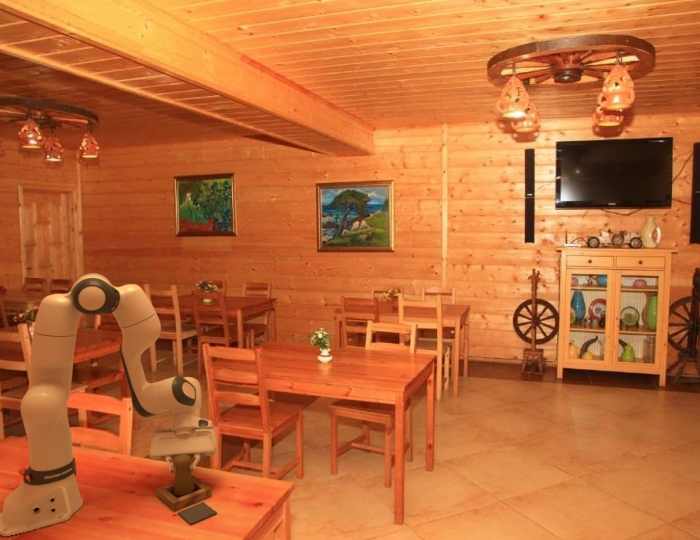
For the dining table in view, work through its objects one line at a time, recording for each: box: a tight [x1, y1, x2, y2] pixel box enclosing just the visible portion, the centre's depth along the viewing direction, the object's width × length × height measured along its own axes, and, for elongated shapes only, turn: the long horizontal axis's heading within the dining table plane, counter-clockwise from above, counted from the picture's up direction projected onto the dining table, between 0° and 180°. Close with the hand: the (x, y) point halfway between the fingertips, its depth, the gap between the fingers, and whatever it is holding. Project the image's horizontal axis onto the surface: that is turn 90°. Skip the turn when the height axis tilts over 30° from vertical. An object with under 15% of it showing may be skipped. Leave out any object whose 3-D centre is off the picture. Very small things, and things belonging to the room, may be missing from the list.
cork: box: [172, 454, 195, 496], centre depth 167 cm, size 6×6×11 cm
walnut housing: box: [155, 474, 213, 513], centre depth 167 cm, size 12×12×2 cm
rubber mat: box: [177, 501, 218, 526], centre depth 157 cm, size 8×8×1 cm
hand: (182, 471), depth 166 cm, fingers closed on cork, 5 cm apart
